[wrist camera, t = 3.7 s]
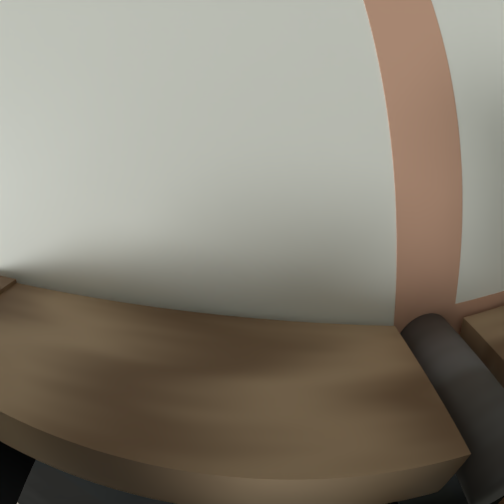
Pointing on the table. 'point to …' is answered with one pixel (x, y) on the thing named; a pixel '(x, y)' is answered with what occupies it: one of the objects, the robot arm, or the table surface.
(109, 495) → the table surface
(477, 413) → the fence fixed section
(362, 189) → the card
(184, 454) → the fence panel
